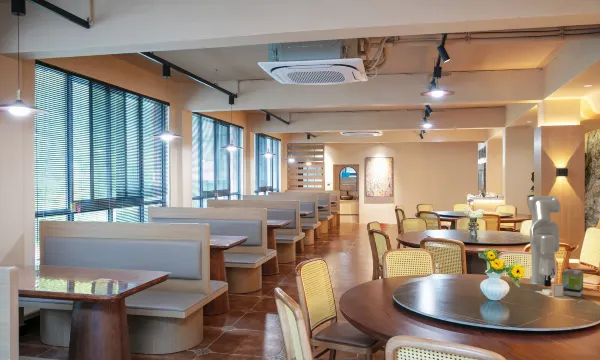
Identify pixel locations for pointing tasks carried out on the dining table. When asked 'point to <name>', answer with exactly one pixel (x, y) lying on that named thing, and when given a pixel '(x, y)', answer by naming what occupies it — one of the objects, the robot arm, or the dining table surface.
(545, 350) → the dining table surface
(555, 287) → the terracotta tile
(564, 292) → the tea box
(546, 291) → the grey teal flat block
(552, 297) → the board
